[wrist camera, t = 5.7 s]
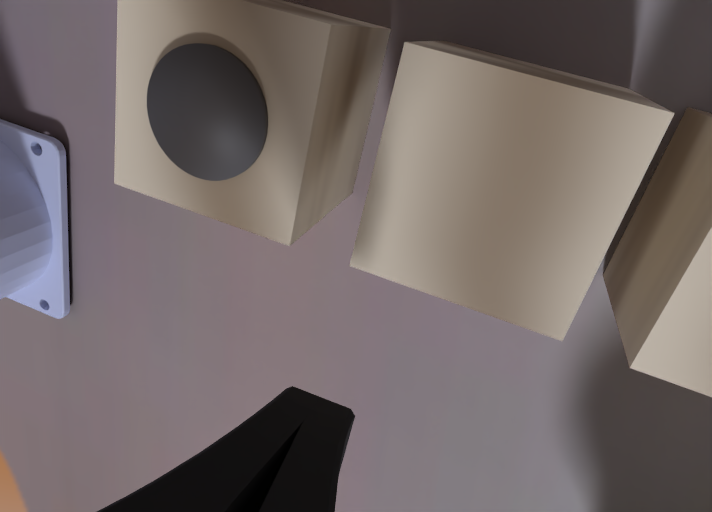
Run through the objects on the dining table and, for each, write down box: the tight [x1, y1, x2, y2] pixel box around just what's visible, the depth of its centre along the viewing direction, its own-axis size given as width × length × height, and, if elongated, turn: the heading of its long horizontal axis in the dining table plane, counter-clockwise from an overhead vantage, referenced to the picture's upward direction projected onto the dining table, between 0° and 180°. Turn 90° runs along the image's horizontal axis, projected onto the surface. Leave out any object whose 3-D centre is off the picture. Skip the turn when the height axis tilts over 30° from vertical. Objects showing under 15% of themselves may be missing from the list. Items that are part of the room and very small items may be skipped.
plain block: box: [350, 41, 675, 341], centre depth 13 cm, size 5×5×5 cm
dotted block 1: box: [114, 0, 391, 246], centre depth 14 cm, size 5×5×5 cm
